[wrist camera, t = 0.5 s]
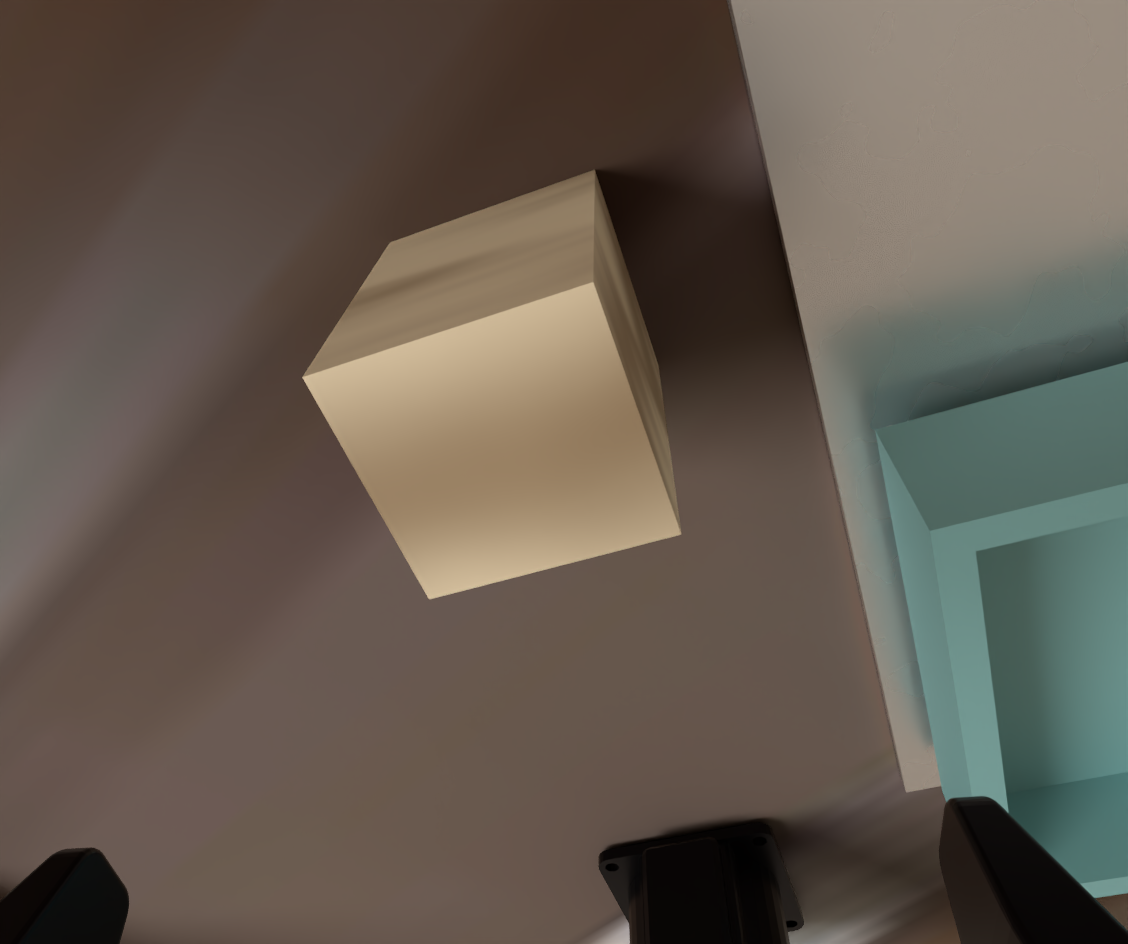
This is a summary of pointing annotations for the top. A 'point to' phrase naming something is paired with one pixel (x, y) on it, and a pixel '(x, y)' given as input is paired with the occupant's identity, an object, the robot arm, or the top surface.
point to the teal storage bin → (1025, 606)
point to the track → (938, 234)
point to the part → (503, 393)
